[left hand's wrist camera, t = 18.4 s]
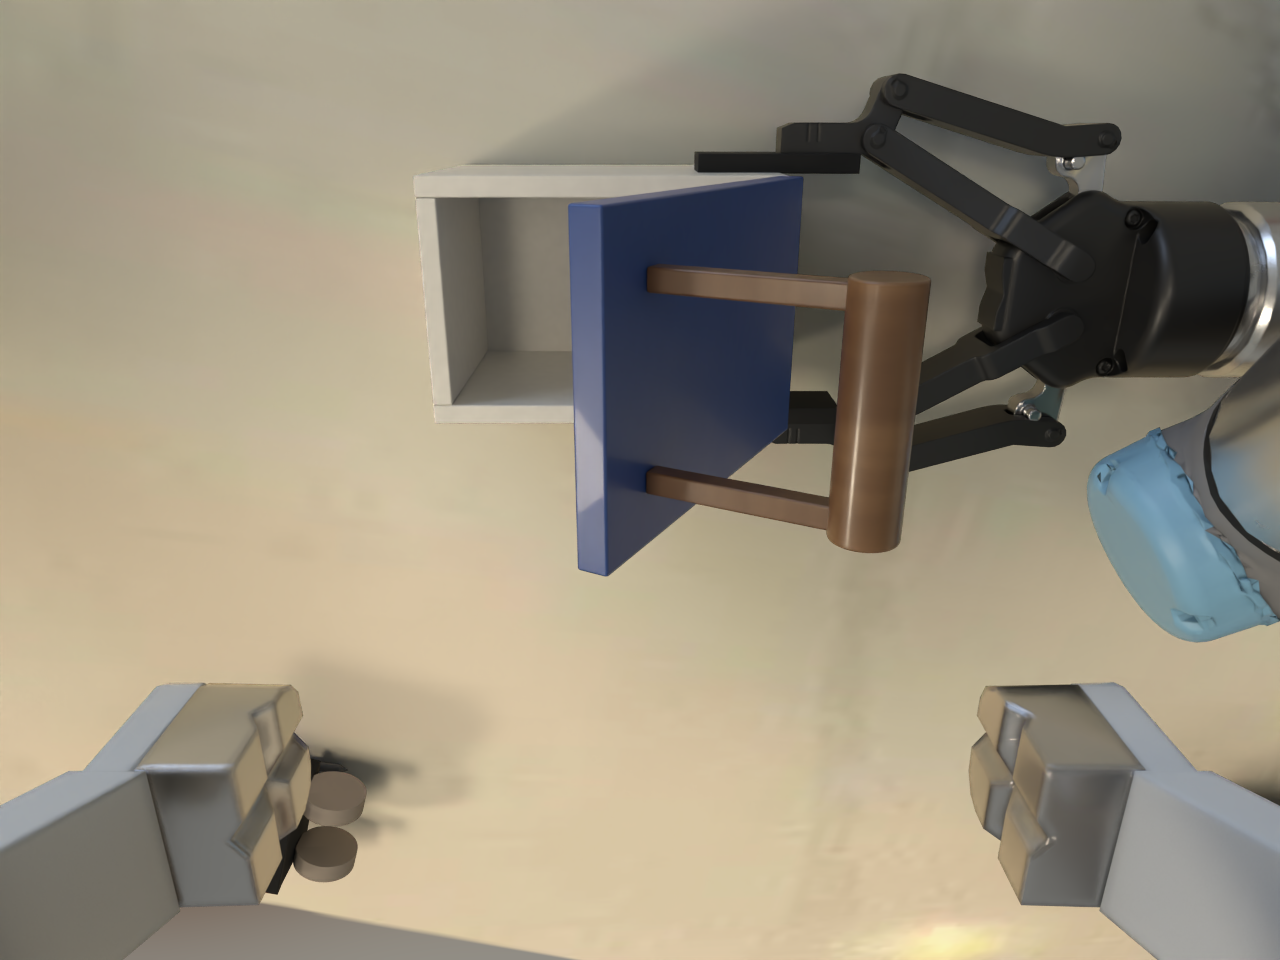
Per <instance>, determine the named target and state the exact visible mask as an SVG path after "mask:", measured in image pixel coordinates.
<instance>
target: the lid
mask: <svg viewBox="0 0 1280 960" xmlns="http://www.w3.org/2000/svg"><path fill="white" fill-rule="evenodd" d="M802 193H803V177H801V176H776V177H768V178H760V179H753V180H745V181H737V182H729V183H722V184H714V185H706V186H699V187H691V188H683V189H675V190H668V191H660V192H652V193H645V194H637V195H629V196H621V197H614V198H606V199H598V200H591V201H583V202H575V203H570V204H569V205H568V228H569V263H570V299H571V334H572V370H573V406H574V441H575V477H576V513H577V548H578V569H579V570H582V571H586V572H590V573H594V574H598V575H602V576H609V575H610V574H611V573H613V572H614V571H615V570H616V569H617V568H619V567H620V566H621V565H622V564H624V563H625V562H626V561H627V560H628V559H630V558H631V557H632V556H633V555H635V554H636V553H637V552H638V551H639V550H641V549H642V548H643V547H644V546H645V545H647V544H648V543H649V542H650V541H652V540H653V539H654V538H655V537H656V536H658V535H659V534H660V533H661V532H663V531H664V530H665V529H666V528H667V527H669V526H670V525H671V524H672V523H674V522H675V521H676V520H677V519H678V518H680V517H681V516H682V515H683V514H685V513H686V512H687V511H688V510H689V509H691V508H692V507H693V506H694V505H695V504H700V505H705V506H710V507H715V508H720V509H725V510H730V511H734V512H739V513H744V514H749V515H754V516H759V517H764V518H769V519H774V520H779V521H784V522H789V523H793V524H798V525H803V526H808V527H813V528H818V529H823V530H826V534H827V537H828V539H829V540H830V541H831V542H832V543H833V544H835V545H837V546H839V547H841V548H844V549H847V550H850V551H855V552H862V553H881V552H886V551H890V550H892V549H894V548H896V547H897V546H898V545H899V543H900V540H901V532H902V523H903V515H904V506H905V498H906V489H907V481H908V472H909V464H910V455H911V447H912V439H913V430H914V422H915V413H916V405H917V396H918V388H919V379H920V371H921V362H922V354H923V345H924V337H925V328H926V320H927V311H928V303H929V294H930V286H931V280H930V278H929V277H927V276H924V275H921V274H916V273H909V272H898V271H864V272H857V273H853V274H850V275H849V277H848V278H842V277H829V276H815V275H802V274H797V271H798V256H799V240H800V224H801V209H802ZM795 306H798V307H809V308H820V309H830V310H841V311H845V316H844V328H843V340H842V352H841V364H840V376H839V388H838V400H837V412H836V423H835V435H834V447H833V459H832V471H831V483H830V495H829V497H823V496H818V495H813V494H807V493H802V492H797V491H791V490H786V489H781V488H775V487H770V486H764V485H759V484H754V483H748V482H743V481H738V480H732V479H727V478H728V477H730V476H731V475H732V474H733V473H734V472H736V471H737V470H738V469H739V468H741V467H742V466H743V465H744V464H745V463H747V462H748V461H749V460H750V459H752V458H753V457H754V456H755V455H756V454H758V453H759V452H760V451H761V450H763V449H764V448H765V447H766V446H767V445H769V444H770V443H771V442H772V441H774V440H775V439H776V438H777V437H778V436H780V435H781V434H782V433H783V432H784V431H786V430H787V428H788V413H789V397H790V381H791V366H792V350H793V334H794V318H795Z"/></svg>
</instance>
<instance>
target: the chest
mask: <svg viewBox="0 0 1280 960" xmlns="http://www.w3.org/2000/svg"><path fill="white" fill-rule="evenodd" d="M776 176H788V175H785V174H782V173H698V172H697V171H695V170H694V165H459V166H455V167H450V168H445V169H441V170H436V171H432V172H427V173H422V174H418V175H414V176H413V182H414V193H415V197H416V199H415V202H416V213H417V225H418V236H419V248H420V259H421V270H422V282H423V293H424V305H425V316H426V327H427V339H428V350H429V362H430V373H431V384H432V396H433V404H434V406H433V408H434V419H435V423H436V424H524V423H574V406H573V370H572V334H571V299H570V263H569V228H568V205H569V204H570V203H575V202H583V201H591V200H598V199H606V198H614V197H621V196H629V195H637V194H645V193H652V192H660V191H668V190H675V189H683V188H691V187H699V186H706V185H714V184H722V183H729V182H737V181H745V180H753V179H760V178H768V177H776Z"/></svg>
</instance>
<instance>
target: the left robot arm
mask: <svg viewBox="0 0 1280 960" xmlns="http://www.w3.org/2000/svg"><path fill="white" fill-rule="evenodd" d="M302 716H303V713H302V708H301V703H300V698H299V693H298V691H297V690H296V689H295V688H294V687H293V686H291V685H273V684H226V683H209V684H205V683H166V684H163V685H160V686H157V687H156V688H155V689H154V690H153V691H152V692H151V693H150V694H149V695H148V697H147V698H146V699H145V700H144V701H143V702H142V704H141V705H140V706H139V707H138V708H137V709H136V710H135V712H134V713H133V714H132V715H131V716H130V717H129V718H128V720H127V721H126V722H125V723H124V724H123V725H122V726H121V728H120V729H119V730H118V731H117V732H116V733H115V734H114V736H113V737H112V738H111V739H110V740H109V741H108V743H107V744H106V745H105V746H104V747H103V748H102V749H101V751H100V752H99V753H98V754H97V755H96V756H95V757H94V759H93V760H92V761H91V762H90V763H89V764H88V765H87V767H86V768H85V769H84V770H83V771H68V772H66V773H64V774H62V775H60V776H58V777H56V778H54V779H52V780H50V781H48V782H46V783H44V784H42V785H40V786H38V787H36V788H34V789H32V790H30V791H28V792H26V793H24V794H22V795H20V796H18V797H16V798H14V799H12V800H10V801H8V802H7V803H5V804H3V805H1V806H0V960H123V959H124V958H126V957H127V956H128V955H129V954H130V953H132V952H133V951H134V950H135V949H136V948H137V947H139V946H140V945H141V944H142V943H143V942H145V941H146V940H147V939H148V938H149V937H151V936H152V935H153V934H154V933H155V932H156V931H158V930H159V929H160V928H161V927H162V926H164V925H165V924H166V923H167V922H168V921H170V920H171V919H172V918H173V917H174V916H175V915H177V914H178V913H179V912H180V907H205V906H240V905H259V904H260V902H261V900H262V898H263V896H264V894H265V892H266V890H267V888H268V886H269V884H270V882H271V880H272V878H273V876H274V874H275V872H276V870H277V868H278V866H279V864H280V862H281V860H282V854H281V848H280V843H279V841H280V840H281V839H282V838H284V837H285V836H287V835H288V834H289V833H291V832H292V831H294V830H295V829H297V827H298V824H299V822H300V820H301V818H302V816H303V814H304V811H305V809H306V805H307V800H308V795H309V791H310V786H311V761H310V755H309V748H308V746H307V745H306V744H305V743H304V742H303V741H302V740H301V739H300V738H299V737H298V736H297V735H296V734H295V733H294V731H295V729H296V727H297V725H298V724H299V722H300V720H301V718H302ZM977 717H978V718H979V720H980V722H981V724H982V725H983V727H984V729H985V731H986V733H985V734H984V735H983V736H982V737H981V738H980V739H979V740H978V741H977V742H976V743H975V744H974V745H973V746H972V748H971V756H970V764H969V781H970V793H971V797H972V801H973V805H974V808H975V812H976V814H977V816H978V818H979V820H980V822H981V825H982V827H983V829H985V830H986V831H988V832H989V833H990V834H992V835H993V836H995V837H996V838H998V839H999V840H1000V841H1001V843H1000V848H999V854H998V860H999V862H1000V864H1001V866H1002V868H1003V870H1004V872H1005V874H1006V876H1007V878H1008V880H1009V882H1010V884H1011V886H1012V888H1013V890H1014V892H1015V894H1016V896H1017V898H1018V900H1019V902H1020V904H1021V905H1038V906H1073V907H1100V910H1099V911H1100V912H1101V913H1103V914H1104V915H1105V916H1106V917H1107V918H1108V919H1110V920H1111V921H1112V922H1113V923H1114V924H1116V925H1117V926H1118V927H1119V928H1120V929H1122V930H1123V931H1124V932H1125V933H1126V934H1127V935H1129V936H1130V937H1131V938H1132V939H1133V940H1135V941H1136V942H1137V943H1138V944H1139V945H1140V946H1142V947H1143V948H1144V949H1145V950H1146V951H1148V952H1149V953H1150V954H1151V955H1152V956H1154V957H1155V958H1156V959H1157V960H1280V806H1279V805H1277V804H1275V803H1273V802H1271V801H1269V800H1267V799H1265V798H1263V797H1261V796H1259V795H1257V794H1255V793H1254V792H1252V791H1250V790H1248V789H1246V788H1244V787H1242V786H1240V785H1238V784H1236V783H1234V782H1232V781H1230V780H1228V779H1226V778H1224V777H1222V776H1220V775H1218V774H1216V773H1214V772H1212V771H1197V770H1196V769H1195V768H1194V767H1193V766H1192V764H1191V763H1190V762H1189V761H1188V760H1187V759H1186V757H1185V756H1184V755H1183V754H1182V753H1181V752H1180V751H1179V749H1178V748H1177V747H1176V746H1175V745H1174V744H1173V743H1172V741H1171V740H1170V739H1169V738H1168V737H1167V736H1166V735H1165V733H1164V732H1163V731H1162V730H1161V729H1160V728H1159V727H1158V725H1157V724H1156V723H1155V722H1154V721H1153V720H1152V718H1151V717H1150V716H1149V715H1148V714H1147V713H1146V712H1145V710H1144V709H1143V708H1142V707H1141V706H1140V705H1139V704H1138V702H1137V701H1136V700H1135V699H1134V698H1133V697H1132V696H1131V694H1130V693H1129V692H1128V691H1127V690H1126V689H1125V688H1124V687H1123V686H1120V685H1118V684H1116V683H1114V682H1110V683H1080V684H1071V685H1018V686H986V687H985V689H984V691H983V693H982V695H981V697H980V701H979V707H978V712H977Z"/></svg>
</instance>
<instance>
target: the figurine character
mask: <svg viewBox="0 0 1280 960" xmlns="http://www.w3.org/2000/svg"><path fill="white" fill-rule="evenodd" d="M319 771H322V773H319ZM344 771H347V769H346V768H344V767H343V766H341V765H340V764H332V763H325V762H321V761H317V760H313V759H311V786H310V791H309V795H308V800H307V805H306V809H305V811H304V814H303V816H302V818H301V820H300V822H299V824H298V827H297V829H295V830H294V831H292V832H291V833H289V834H288V835H287V836H285V837H284V838H282V839H281V840H280V841H279V843H280V848H281V854H282V860H281V862H280V864H279V866H278V868H277V870H276V872H275V874H274V876H273V878H272V880H271V882H270V884H269V886H268V888H267V890H266V892H265V893H271V894H276V895H278V892H279V890H280V887H281V885H282V883H283V881H284V879H285V877H286V875H287V873H288V871H289V869H290V867H291V865H292V863H293V864H294V867H295V869H296V871H297V872H298V873H299V874H300V875H301V876H303V877H305V878H307V879H309V880H312V881H316V882H332V881H336V880H339V879H341V878H343V877H345V876H346V875H348V874H349V873H350V872H351V870H352V869H353V866H354V862H355V858H356V853H357V848H358V846H357V842H356V840H355V838H354V837H353V836H352V835H351V834H350V833H349V832H347V831H345V830H343V829H340V828H337V827H331V826H343V825H346V824H349V823H351V822H353V821H355V820H356V819H358V818H359V816H360V815H361V814H362V811H363V807H364V802H365V798H366V787H365V785H364V784H363V783H362V781H361V780H359V779H358V778H357V777H355V776H353V775H350V774H348V773H344ZM318 773H319V774H318ZM309 820H310V821H312V822H314V823H316V824H319V825H323V826H321V827H316V828H312V829H310V830H308V831H307V829H308V824H309Z"/></svg>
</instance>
